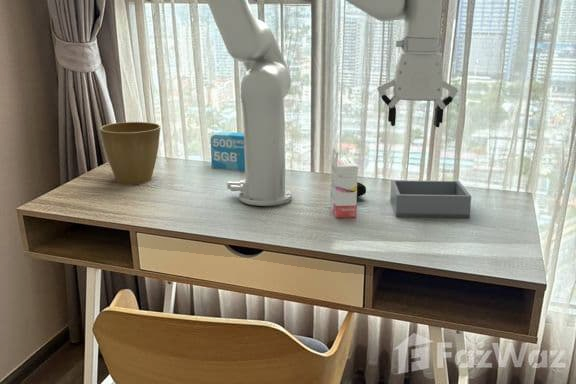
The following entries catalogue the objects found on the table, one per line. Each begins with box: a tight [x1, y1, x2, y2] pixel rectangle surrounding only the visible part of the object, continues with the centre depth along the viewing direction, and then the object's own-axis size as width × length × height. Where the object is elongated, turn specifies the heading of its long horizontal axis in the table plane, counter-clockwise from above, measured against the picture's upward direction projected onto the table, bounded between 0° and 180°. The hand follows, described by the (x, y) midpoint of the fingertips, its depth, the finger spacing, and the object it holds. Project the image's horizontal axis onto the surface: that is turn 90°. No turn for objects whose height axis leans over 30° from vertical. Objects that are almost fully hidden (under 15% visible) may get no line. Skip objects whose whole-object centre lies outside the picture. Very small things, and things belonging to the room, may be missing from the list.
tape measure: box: [357, 181, 367, 198], centre depth 147 cm, size 7×7×4 cm
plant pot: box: [99, 121, 161, 186], centre depth 157 cm, size 15×15×16 cm
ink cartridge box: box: [329, 145, 359, 219], centre depth 135 cm, size 9×5×15 cm, turn 4°
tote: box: [389, 179, 472, 219], centre depth 139 cm, size 16×13×5 cm
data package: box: [210, 131, 245, 172], centre depth 168 cm, size 12×4×12 cm, turn 73°
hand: (414, 125), depth 135 cm, fingers open, 9 cm apart
